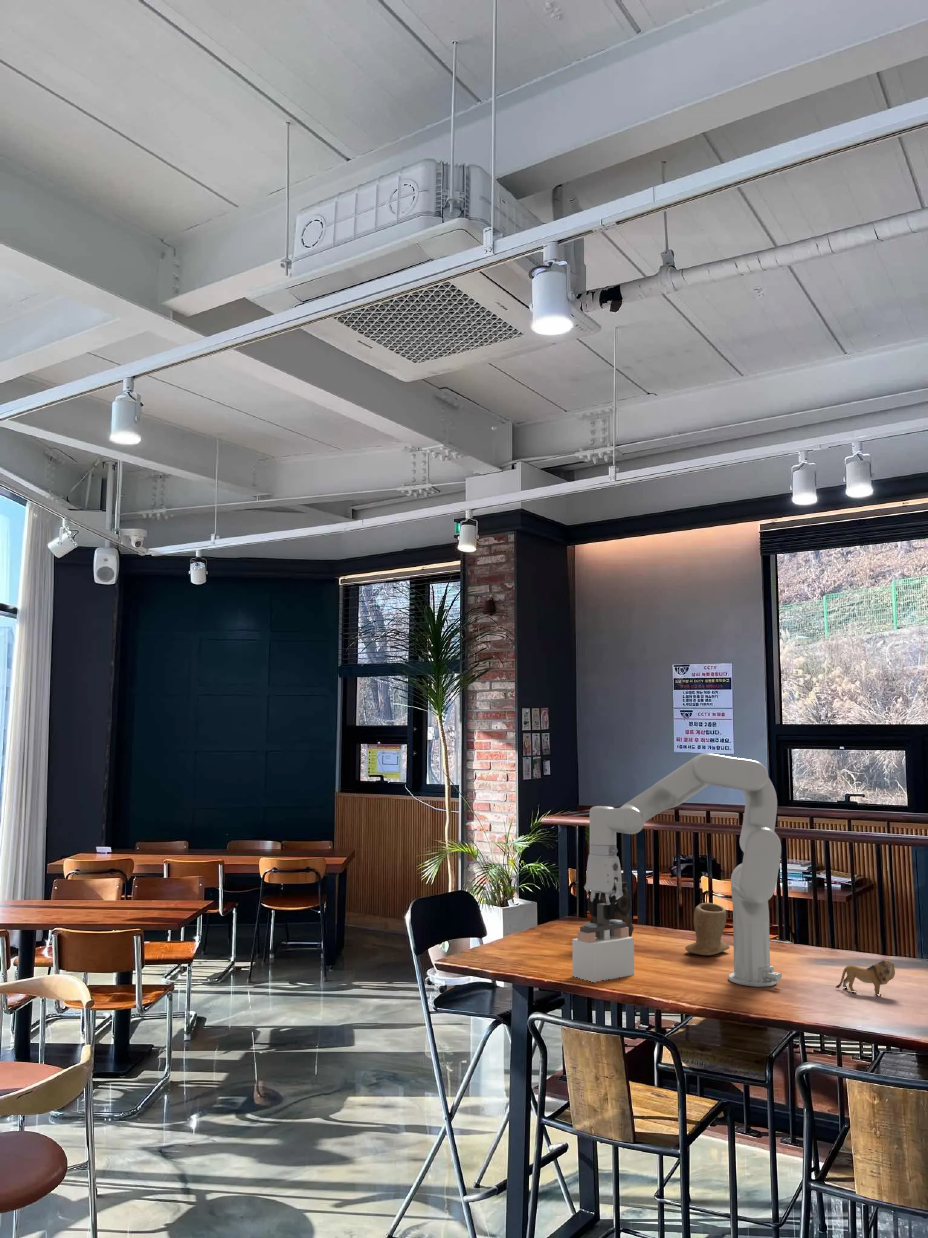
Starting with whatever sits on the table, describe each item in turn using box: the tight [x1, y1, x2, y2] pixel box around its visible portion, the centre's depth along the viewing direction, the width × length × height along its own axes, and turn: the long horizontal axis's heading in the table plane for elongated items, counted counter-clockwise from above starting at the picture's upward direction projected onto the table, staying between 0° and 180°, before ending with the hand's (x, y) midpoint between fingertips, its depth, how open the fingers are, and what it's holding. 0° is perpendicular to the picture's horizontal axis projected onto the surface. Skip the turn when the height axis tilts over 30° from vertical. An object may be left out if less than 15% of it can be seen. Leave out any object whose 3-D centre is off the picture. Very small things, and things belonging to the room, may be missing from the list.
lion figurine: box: [835, 959, 896, 995], centre depth 246 cm, size 15×5×9 cm, turn 66°
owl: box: [587, 881, 635, 937], centre depth 299 cm, size 13×13×20 cm
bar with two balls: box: [579, 903, 626, 939], centre depth 262 cm, size 4×15×9 cm, turn 127°
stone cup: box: [684, 902, 730, 956], centre depth 291 cm, size 15×12×15 cm
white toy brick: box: [571, 927, 635, 983], centre depth 261 cm, size 8×16×12 cm, turn 126°
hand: (603, 916), depth 262 cm, fingers open, 4 cm apart
